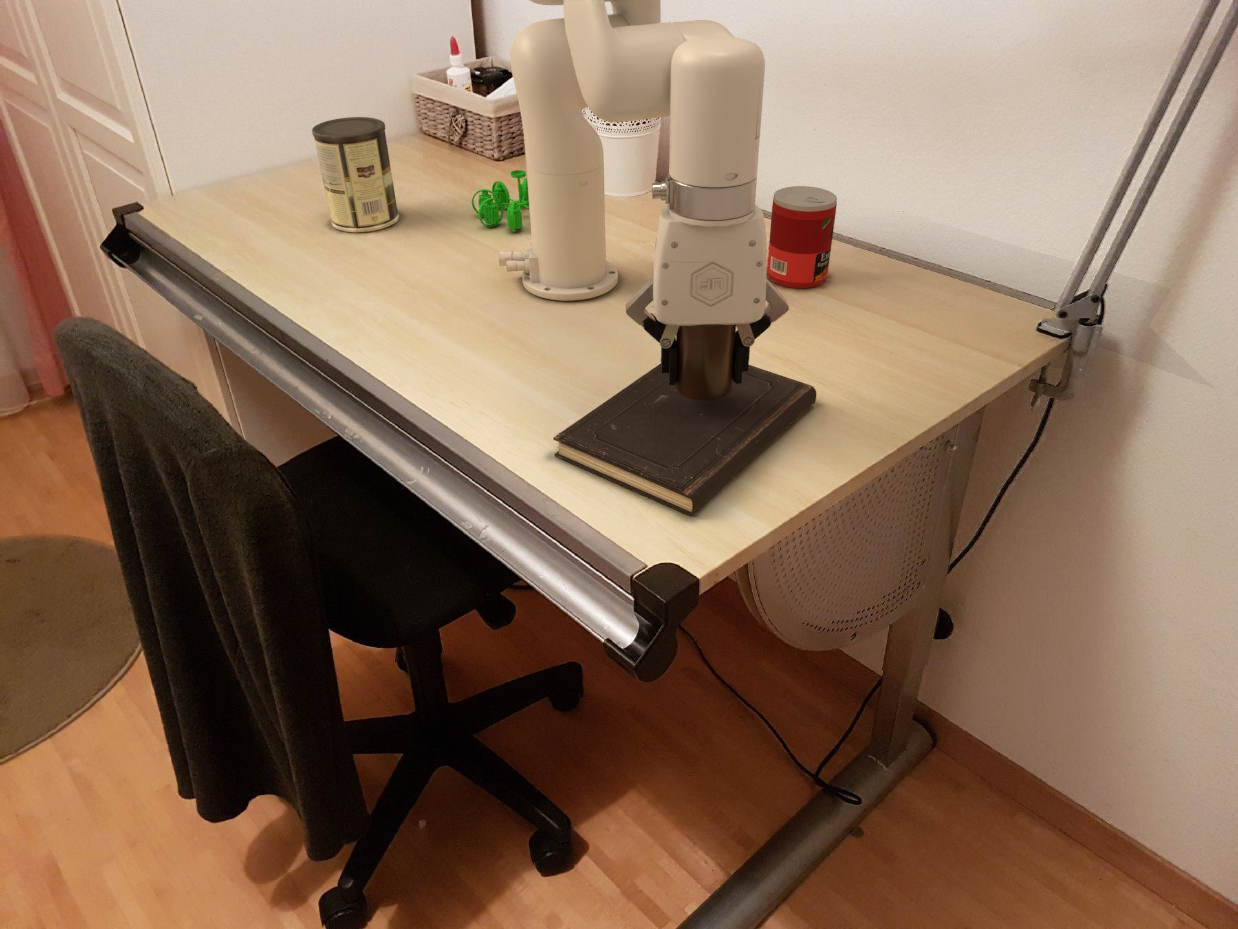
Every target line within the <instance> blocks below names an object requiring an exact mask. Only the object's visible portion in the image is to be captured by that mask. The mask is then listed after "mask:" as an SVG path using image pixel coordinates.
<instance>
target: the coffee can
mask: <svg viewBox="0 0 1238 929" xmlns="http://www.w3.org/2000/svg"><path fill="white" fill-rule="evenodd" d="M311 133H312V137H313V138H314V143H315V147H316V148H315V149H316V152H317V158H318V163H319V167H320V168H319V169H320V172H321V177H322V182H323V187H324V191H325V196H326V200H327V205H328V206H327V207H328V211H329V216H330V220H331V221H330V224H331V226H332V227H333V228H334V229H335V230H338V231H341V232H345V233H368V232H375V231H380V230H383V229H386V228H388V227H391V226H392V225H394V224H396V223H398V221H399V219H400V214H399V210H398V204H397V199H396V192H395V186H394V179H393V174H392V168H391V161H390V160H391V159H390V154H389V148H388V142H387V135H386V124H385V121H383V120H381V119H378V118H374V117H368V116H367V117H366V116H352V117H351V116H349V117H348V116H347V117H340V118H335V119H334V118H333V119H330V120H326V121H323V122H320V123H317V124H315V125H314V126H313V127H312V129H311Z"/></svg>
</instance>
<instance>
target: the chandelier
mask: <svg viewBox="0 0 1238 929" xmlns="http://www.w3.org/2000/svg"><path fill="white" fill-rule="evenodd" d="M510 177H511V178H514V179H517V189H518V200H514V199H512V198H511V197H510V192H509V189H508V186H506V184H505V183H504V182H503V181H502V180H496V181H494V182H493V183H492V186H491V190H490V189H487V188H483V189H479V190H477V191H476V192H475V193H474V195H473V196H472V198H471V207H472V209H473V210H474V213H476V214H477V217H478V220H479V222H480V224H482V225H483V226H485V227H488V228H493V227H496V226H498V225H499V224H500V222H501V221H502V220H503V218H504V213H505V210H507V212H506V221H507V226H508V228H509V229H511V231H512V232H514V233H515V232H518V229H521V228H522V226H523V218H522V216H523V215H522V211H521V209H526V208H527V209H529V196H528V182H527V171H526V170H522V169H515V170H512V171H511V172H510ZM521 179H523V180H522V183H521ZM479 193H481V194H479ZM478 194H479V195H478ZM477 195H478V196H479V197H478V209H477V208H476V205H475V197H476V196H477ZM499 210H500V214H499ZM482 218H484V221H483V219H482Z"/></svg>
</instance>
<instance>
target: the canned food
mask: <svg viewBox="0 0 1238 929" xmlns="http://www.w3.org/2000/svg"><path fill="white" fill-rule="evenodd" d="M837 202H838V198H837V195H836V194H834V192H832V191H830V190H827V189H824V188H820V187H817V186H809V185H807V186H806V185H794V186H786V187H782V188H779V189H778V190H775V191H774V193H773V197H772V205H771V216H770V229H769V230H770V231H769V240H768V254H767V270H766V273H767V276H768V278H769V279H770V280H771V281H772V282H773V283H774V284H777V285H779V286H782V287H786V288H792V289H809V288H814V287H817V286H820V285H822V284H823V283H824V282H825V280H826V278H827V277H828V274H829V266H830V259H831V252H832V244H833V237H834V229H835V222H836V215H837V205H838V203H837Z"/></svg>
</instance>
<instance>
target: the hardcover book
mask: <svg viewBox="0 0 1238 929" xmlns="http://www.w3.org/2000/svg"><path fill="white" fill-rule="evenodd" d="M816 400H817V389H816V388H815V387H814V386H813V385H811V384H809V383H805V382H803V381H799V380H796V379H794V378H791V377H787V376H784V375H782V374H778V373H776V372H772V371H769V370H766V369H763V368H760V367H757V366H754V365H751V364H749V367H748V371H742V382H741V384H736V383H735V382H733V381H732V389H731V391H730V393H729V394H727V395H726V396H724V397H722V398H719V399H715V400H707V401H703V400H694V399H690V398H687V397H685V396H683V395H681V394H680V393H679V392H678V391H677V390H676V387H675V385H669V379H668V373H661V362H660V363H659V364H658V365H656V366H655V367H653V368H652V369H650V370H649V371H647V372H646V373H645V374H643V375H642V376H640V377H639V378H637V379H636V380H634V381H633V382H631V383H630V384H629V385H627V386H625V387H624V388H622V389H621V390H620V391H618V392H617V393H615V394H614V395H612V396H611V397H609V398H608V399H607V400H606V401H604V402H603V403H601V404H599V405H598V406H597V407H595V408H594V409H592V410H591V411H589V412H588V413H586V414H585V415H584V416H582V417H581V418H579V419H578V420H576V421H575V422H573V423H572V424H570V425H569V426H568V427H565V429H563V430H562V431H561V432H559V433H558V434H556V435H555V436H553V438H552V439H553V441H554V442H555V441H556V442H557V444H558V446H557V449H558V451H556V452H555V453H554V455H553V456H554V457H556V458H557V459H560V460H562V461H564V462H566V463H569V464H572V465H573V466H576V467H578V468H580V469H582V470H584V471H587V472H589V473H591V474H594V475H596V476H599V477H601V478H603V479H605V480H608V481H610V482H612V483H614V484H616V485H618V486H621V487H623V488H626V489H628V490H630V491H633V492H635V493H637V494H639V495H641V496H644V497H646V498H647V499H650V500H653V501H655V502H657V503H660V504H662V505H664V506H666V507H668V508H671V509H673V510H675V511H677V512H680V513H682V514H684V515H686V516H691V515H694V513H695V512H696V511H698V510H699V508H701V507H702V506H703V505H704V504H705V503H706V502H707V501H709V500H710V499H711V498H712V497H713V496H714V495H715V494H716V493H717V492H719V491H720V490H721V489H722V488H723V487H724V486H725V485H726V484H728V482H730V480H732V479H733V478H734V477H735V476H736V475H737V474H738V473H739V472H741V470H743V469H744V468H745V467H746V466H747V465H748V464H750V462H751V461H752V460H753V459H755V458H756V457H757V456H758V455H759V454H760V453H762V451H764V450H765V449H766V447H768V446H769V445H770V444H771V443H772V442H773V441H774V440H775V439H777V438H778V437H779V436H780V435H781V434H783V432H784V431H785V430H787V428H789V427H790V426H791V425H792V424H793V423H794V422H795V421H796V420H797V419H798V418H800V417H801V416H802V415H803V414H804V413H805V412H806V411H807V410H808V409H810V407H812V406H813V405H814V404H815V403H816Z"/></svg>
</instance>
